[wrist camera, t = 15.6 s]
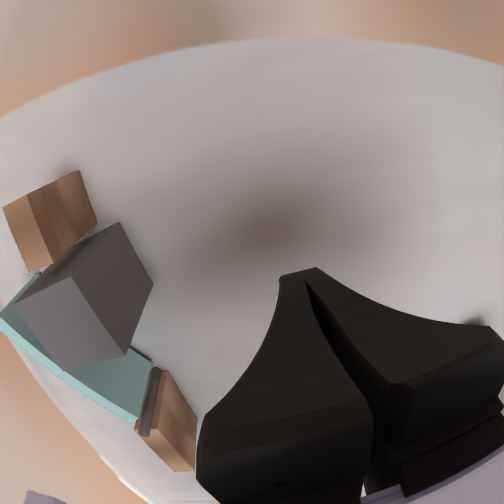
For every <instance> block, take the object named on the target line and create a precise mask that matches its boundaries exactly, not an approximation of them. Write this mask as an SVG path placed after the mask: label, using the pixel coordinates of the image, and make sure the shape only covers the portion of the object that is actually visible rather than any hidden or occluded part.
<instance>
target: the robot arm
mask: <svg viewBox="0 0 504 504" xmlns="http://www.w3.org/2000/svg"><path fill="white" fill-rule="evenodd" d="M279 285H280V286H279V295H278V300H277V305H276V309H275V312H274V315H273V318H272V321H271V324H270V327H269V330H268V332H267V334H266V337H265V339H264V341H263V343H262V345H261V347H260V349H259V350H258V352H257V354H256V356H255V357H254V359H253V361H252V362H251V364H250V365H249V367H248V368H247V370H246V371H245V372H244V374H243V375H242V376H241V378H240V379H239V380H238V381H237V383H236V384H235V385H234V386H233V388H232V389H231V390H230V391H229V392H228V393H227V395H226V396H225V397H224V398H223V399H221V400H220V401H219V402H218V403H217V404H216V405H215V406H214V407H213V408H212V409H211V410H210V411H209V412H208V413H207V414H206V415H205V416H204V419H203V423H202V426H201V430H200V435H199V440H198V445H197V455H196V479H197V480H198V482H199V484H200V485H201V486H202V487H203V488H204V489H205V490H206V491H207V492H209V493H210V494H211V495H212V496H213V497H214V498H215V499H216V500H217V501H218V502H219V503H220V504H504V416H503V415H502V413H501V411H502V410H503V408H504V404H503V403H502V401H501V400H500V399H499V397H498V395H499V393H500V391H501V389H502V387H503V385H504V341H503V340H502V338H501V337H500V336H499V335H498V334H497V333H496V332H495V331H494V330H493V329H492V328H491V327H490V326H480V325H465V324H454V323H448V322H441V321H435V320H431V319H426V318H422V317H418V316H414V315H411V314H407V313H404V312H401V311H398V310H395V309H392V308H390V307H387V306H384V305H382V304H379V303H377V302H375V301H373V300H370V299H368V298H366V297H364V296H362V295H360V294H358V293H357V292H355V291H353V290H351V289H349V288H348V287H346V286H344V285H343V284H341V283H340V282H338V281H336V280H335V279H333V278H332V277H330V276H329V275H327V274H326V273H324V272H323V271H321V270H320V269H318V268H317V267H314V268H311V269H307V270H303V271H299V272H295V273H291V274H287V275H283V276H281V277H280V279H279ZM363 484H364V487H365V492H366V496H364V497H361V492H362V486H363ZM360 497H361V498H360ZM24 504H66V503H65V502H63V501H61V500H59V499H57V498H54V497H51V496H48V495H44V494H41V493H37V492H34V491H31V490H29V491H27V494H26V497H25V501H24Z"/></svg>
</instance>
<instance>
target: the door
mask: <svg viewBox="0 0 504 504" xmlns="http://www.w3.org/2000/svg"><path fill="white" fill-rule="evenodd" d="M39 276H40V275H39V274H38V273H37V274H36V275H35V276H34V277H33V278H32V279H31V280H30V281H29V282H28V283H27V284H26V285H25V286H24V287H23V288H22V290H21V291H20V292H19V293H18V294H17V295H16V296H15V297H14V298H13V299H12V300H11V301H10V303H9V304H8V305H7V306H6V307H5V308H4V309H3V310H2V312H1V313H0V330H1V331H2V332H3V333H4V334H5V335H6V336H7V337H8V338H9V339H10V340H12V341H13V342H14V343H15V344H16V345H17V346H18V347H20V348H21V349H22V350H23V351H24V352H26V353H27V354H28V355H29V356H30V357H32V358H33V359H34V360H35V361H37V362H38V363H39V364H40V365H42V366H43V367H44V368H46V369H47V370H48V371H49V372H51V373H52V374H53V375H55V376H56V377H58V378H59V379H60V380H62V381H63V382H64V383H66V384H67V385H69V386H70V387H72V388H73V389H75V390H76V391H77V392H79V393H80V394H82V395H83V396H85V397H86V398H88V399H90V400H91V401H93V402H94V403H96V404H97V405H99V406H101V407H102V408H104V409H106V410H107V411H109V412H111V413H112V414H114V415H116V416H117V417H119V418H121V419H123V420H124V421H126V422H128V423H130V424H131V423H132V422H134V421H135V420H137V419H138V418H139V415H140V411H141V406H142V402H143V397H144V393H145V389H146V385H147V380H148V376H149V372H150V368H151V364H152V363H151V362H150V361H148V360H147V359H145V358H144V357H142V356H141V355H139V354H138V353H136V352H135V351H133V350H132V349H131V348H129V349H128V351H127V354H126V356H124V357H120V358H116V359H113V360H109V361H105V362H101V363H97V364H93V365H89V366H85V367H81V368H77V369H73V370H68V371H64V372H63V371H62V369H61V368H60V367H59V366H58V365H57V363H56V362H55V361H54V360H53V359H52V357H51V356H50V355H49V354H48V352H47V351H46V350H45V349H44V347H43V346H42V345H41V343H40V342H39V341H38V340H37V338H36V337H35V336H34V334H33V333H32V331H31V330H30V329H29V327H28V326H27V325H26V323H25V322H24V320H23V319H22V317H21V316H20V315H19V313H18V312H17V310H16V309H15V307H14V306H13V304H14V303H15V302H16V301H17V299H18V298H19V297H20V296H21V295H22V294H23V293H24V292H25V291H26V290H27V288H28V287H29V286H30V285H31V284H32V283H33V282H34V281H35V280H36V279H37V278H38V277H39Z"/></svg>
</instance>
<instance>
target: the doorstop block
mask: <svg viewBox="0 0 504 504" xmlns="http://www.w3.org/2000/svg"><path fill="white" fill-rule="evenodd" d="M152 286H153V283H152V281H151V279H150V278H149V276H148V274H147V272H146V271H145V269H144V267H143V265H142V264H141V262H140V260H139V258H138V256H137V254H136V253H135V251H134V249H133V247H132V245H131V243H130V242H129V240H128V238H127V236H126V234H125V232H124V230H123V228H122V226H121V224H120V222H119V223H117V224H115V225H112V226H110V227H108V228H106V229H104V230H102V231H100V232H98V233H96V234H94V235H92V236H90V237H88V238H86V239H85V240H83V241H81V242H79V243H77V244H75V245H73V246H71V247H70V248H69V249H68V250H67V251H66V252H65V253H64V254H63V255H62V256H61V257H60V258H59V259H58V260H57V261H56V262H55V263H54V264H51V265H50V266H49V267H48V268H47V269H46V270H45V271H44V272H43V273H42V274H41V275H40V276H39V277H38V278H37V279H36V280H35V281H34V282H33V283H32V284H31V285H30V286H29V287H28V288H27V290H26V291H25V292H24V293H23V294H22V295H21V296H20V297H19V298H18V299H17V301H16V302H15V303H14V304H13V306H14V307H15V309H16V310H17V312H18V313H19V315H20V316H21V317H22V319H23V320H24V322H25V323H26V325H27V326H28V327H29V329H30V330H31V331H32V333H33V334H34V336H35V337H36V338H37V340H38V341H39V342H40V343H41V345H42V346H43V347H44V349H45V350H46V351H47V352H48V354H49V355H50V356H51V357H52V359H53V360H54V361H55V362H56V363H57V365H58V366H59V367H60V368H61V369H62V371H63V372H64V371H68V370H73V369H77V368H81V367H85V366H89V365H93V364H97V363H101V362H105V361H109V360H113V359H116V358H120V357H124V356H126V354H127V351H128V349H129V346H130V343H131V340H132V338H133V335H134V332H135V329H136V327H137V324H138V321H139V319H140V316H141V314H142V311H143V308H144V306H145V303H146V301H147V298H148V296H149V293H150V291H151V288H152Z"/></svg>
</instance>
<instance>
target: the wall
mask: <svg viewBox="0 0 504 504" xmlns="http://www.w3.org/2000/svg"><path fill="white" fill-rule="evenodd" d="M2 209H3V211H4V214H5V217H6V219H7V222H8V225H9V227H10V230H11V232H12V235H13V237H14V240H15V242H16V244H17V247H18V249H19V251H20V254H21V256H22V258H23V260H24V262H25V265H26V267H27V269H28V271H32V270H35V269H38V268H41V267H44V266H48V265H51V264H54V263H55V262H56V261H57V260H58V259H59V258H60V257H61V256H62V255H63V254H64V253H65V252H66V251H67V250H68V249H69V248H70V247H71V246H72V245H73V244H74V243H75V242H76V241H77V240H78V239H80V238H81V237H82V236H83V235H84V234H85V233H86V232H87V231H88V230H89V229H90V228H91V227H93V226H94V225H95V224H96V223H97V221H96V218H95V215H94V213H93V210H92V207H91V204H90V202H89V199H88V196H87V193H86V190H85V187H84V184H83V181H82V178H81V175H80V172H79V171H76V172H74V173H72V174H69V175H67V176H65V177H63V178H61V179H58V180H56V181H54V182H52V183H50V184H48V185H45V186H43V187H41V188H39V189H37V190H35V191H33V192H31V193H29V194H27V195H25V196H23V197H21V198H19V199H17V200H15V201H14V202H12V203H10V204H8V205H6V206H4V207H2ZM134 430H135V432H136V433H137V434H138V435H139V436H140V437H141V438H142V439H143V440H144V442H145V443H146V444H147V445H148V446H149V447H150V448H151V449H152V450H153V451H154V452H155V453H156V454H157V455H158V456H159V457H160V458H161V459H162V460H163V461H164V462H165V463H166V464H167V465H168V466H169V467H170V468H171V469H172V470H173V471H174V472H178V471H195V452H196V433H197V418H196V416H195V415H194V413H193V411H192V410H191V408H190V407H189V405H188V404H187V402H186V400H185V399H184V397H183V396H182V394H181V392H180V391H179V389H178V387H177V386H176V384H175V382H174V381H173V379H172V377H171V376H170V374H169V372H168V371H161V370H160V369H159V368H153V369H152V372H151V373H149V376H148V380H147V385H146V389H145V393H144V397H143V402H142V406H141V411H140V415H139V418H138V419H137V420H136V423H135V428H134Z"/></svg>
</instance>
